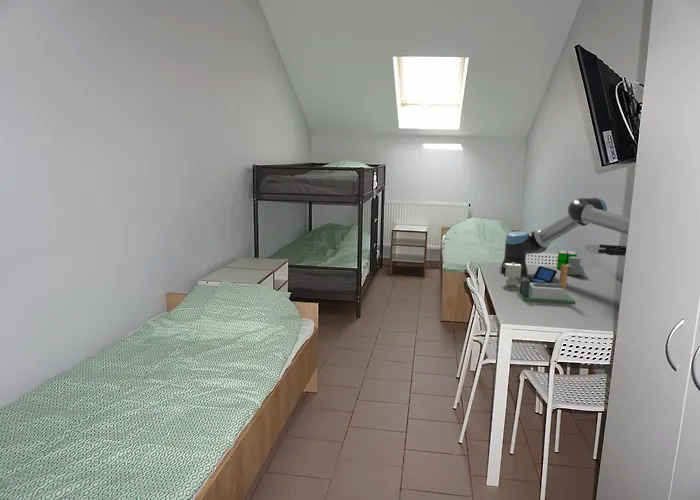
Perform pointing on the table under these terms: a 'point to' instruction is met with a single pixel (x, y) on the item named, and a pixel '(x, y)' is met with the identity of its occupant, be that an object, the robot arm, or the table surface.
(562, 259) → the puzzle cube
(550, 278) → the handheld game console
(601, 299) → the table surface
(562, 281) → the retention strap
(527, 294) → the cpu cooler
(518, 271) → the pneumatic valve
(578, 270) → the air freshener
